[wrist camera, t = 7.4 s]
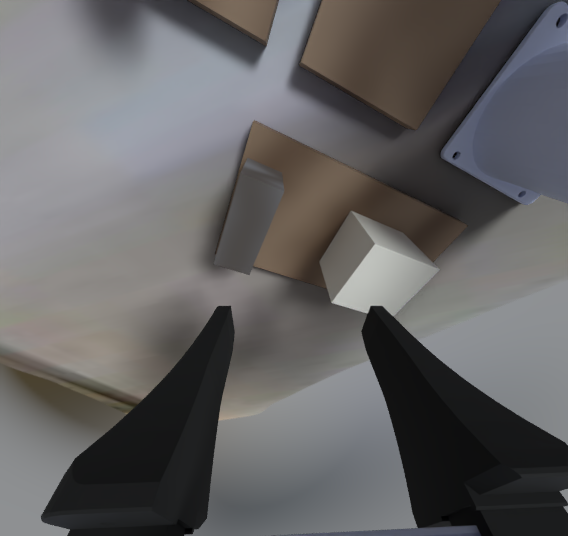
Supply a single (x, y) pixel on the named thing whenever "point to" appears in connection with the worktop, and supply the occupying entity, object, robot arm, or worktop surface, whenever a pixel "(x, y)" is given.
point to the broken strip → (376, 46)
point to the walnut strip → (312, 209)
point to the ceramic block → (373, 266)
